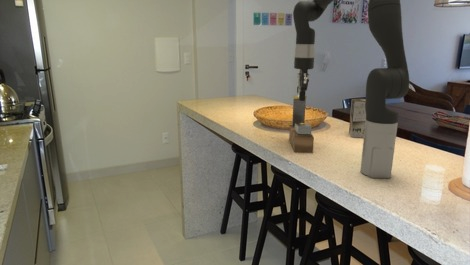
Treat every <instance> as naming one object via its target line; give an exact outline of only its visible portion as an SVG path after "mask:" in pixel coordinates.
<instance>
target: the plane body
mask: <svg viewBox="0 0 470 265" xmlns="http://www.w3.org/2000/svg"><path fill="white" fill-rule="evenodd" d="M288 136H289V137H288V140H289V142H290V145H291V147H292V150H293V152H294V153H301V154H302V153H303V154H304V153H305V154H306V153H309V154H310V153H311V154H313V153H314V142H315V141H314V139H315V138H314V136H313V134H312V133H311V134H297V133H296V132H295V125H292V124H290V125H289V135H288Z"/></svg>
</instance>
